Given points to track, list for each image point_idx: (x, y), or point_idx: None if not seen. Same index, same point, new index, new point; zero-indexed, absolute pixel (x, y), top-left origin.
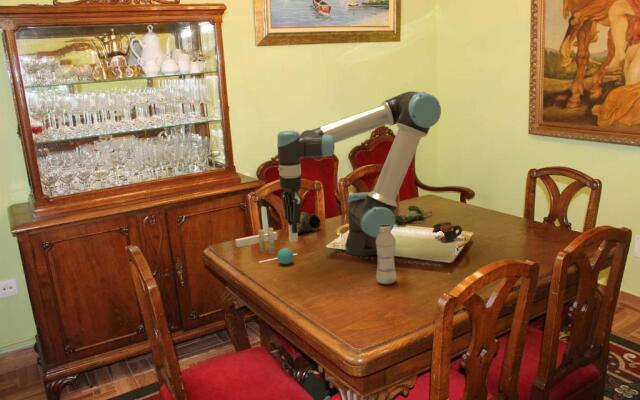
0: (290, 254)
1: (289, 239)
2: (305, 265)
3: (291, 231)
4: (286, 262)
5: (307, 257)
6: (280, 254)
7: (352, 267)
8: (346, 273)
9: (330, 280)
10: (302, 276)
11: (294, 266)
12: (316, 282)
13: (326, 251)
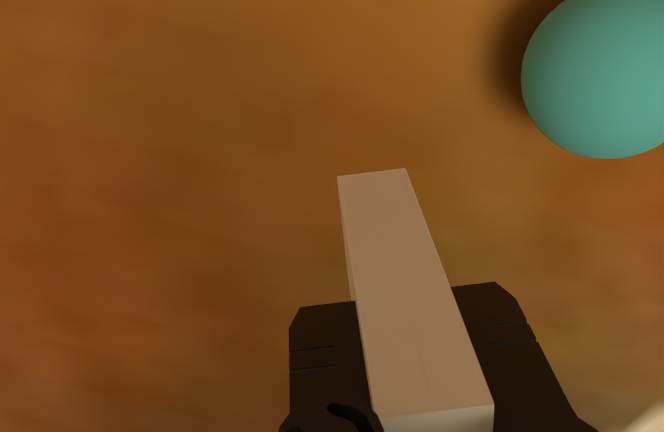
0: (549, 121)
1: (400, 183)
2: (430, 186)
3: (357, 306)
4: (527, 46)
5: (586, 249)
6: (609, 16)
7: (219, 426)
8: (125, 372)
9: (21, 251)
10: (191, 87)
11: (463, 98)
12: (7, 149)
13: (600, 384)
